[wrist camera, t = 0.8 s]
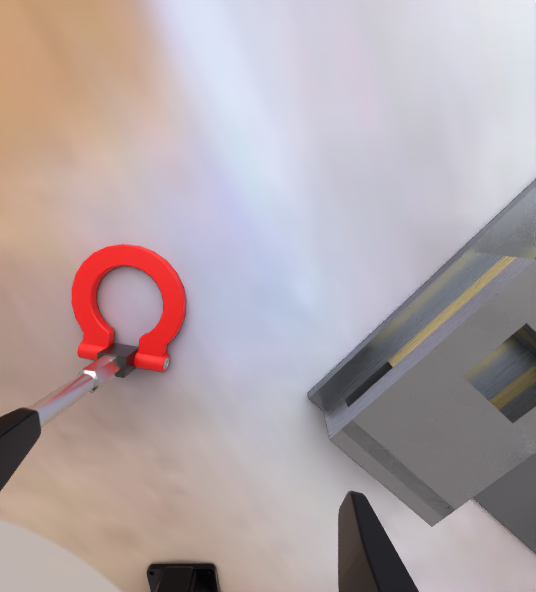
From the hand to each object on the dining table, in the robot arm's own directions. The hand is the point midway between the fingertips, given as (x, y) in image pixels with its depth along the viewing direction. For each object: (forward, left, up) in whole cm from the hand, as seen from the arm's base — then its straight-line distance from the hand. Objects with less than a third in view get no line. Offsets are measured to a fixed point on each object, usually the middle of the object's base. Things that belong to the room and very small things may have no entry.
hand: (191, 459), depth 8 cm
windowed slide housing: (-3, -16, -14) cm, 22 cm away
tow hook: (+2, +9, -14) cm, 17 cm away
